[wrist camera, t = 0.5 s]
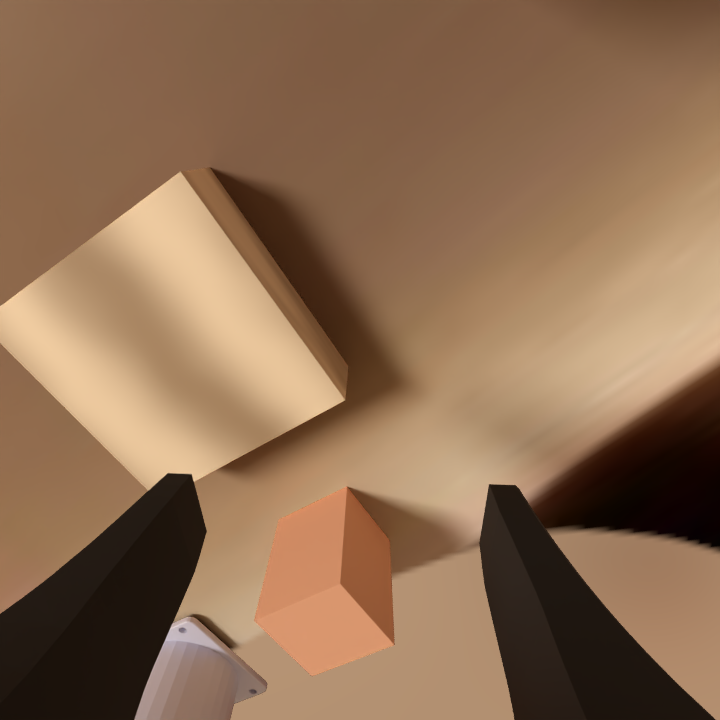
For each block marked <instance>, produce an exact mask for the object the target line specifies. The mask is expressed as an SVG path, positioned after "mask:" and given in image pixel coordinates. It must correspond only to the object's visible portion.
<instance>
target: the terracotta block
mask: <svg viewBox="0 0 720 720" xmlns="http://www.w3.org/2000/svg"><path fill="white" fill-rule="evenodd" d="M254 621H255V622H256V623H257V624H258V625H259V626H260V627H261V628H262V629H263V630H264V631H265V632H266V633H267V634H268V635H269V636H271V637H272V638H273V639H274V640H275V641H276V642H277V643H278V644H279V645H280V646H281V647H282V648H283V649H284V650H285V651H286V652H287V653H288V654H289V655H290V656H292V658H293V659H294V660H295V661H297V662H298V663H299V664H300V665H301V666H302V667H303V668H304V669H305V670H306V671H307V672H308V673H309V674H310V675H311V676H314V675H317V674H320V673H322V672H325V671H328V670H330V669H333V668H335V667H338V666H341V665H343V664H346V663H349V662H351V661H354V660H357V659H359V658H362V657H364V656H367V655H370V654H372V653H375V652H378V651H380V650H383V649H385V648H388V647H391V646H394V645H395V643H394V624H393V623H394V622H393V600H392V579H391V557H390V540H389V539H388V538H387V537H386V535H385V534H384V533H383V531H382V530H381V529H380V528H379V526H378V525H377V524H376V523H375V521H374V520H373V519H372V518H371V516H370V515H369V514H368V512H367V511H366V510H365V509H364V507H363V506H362V505H361V504H360V502H359V501H358V500H357V499H356V497H355V496H354V495H353V493H352V492H351V491H350V490H349V488H348V487H345V488H343V489H341V490H339V491H337V492H335V493H333V494H330V495H328V496H326V497H324V498H322V499H320V500H318V501H316V502H314V503H312V504H310V505H308V506H306V507H304V508H302V509H300V510H298V511H295V512H293V513H291V514H289V515H287V516H285V517H283V518H281V519H279V521H278V525H277V529H276V533H275V538H274V542H273V546H272V550H271V554H270V558H269V562H268V566H267V570H266V574H265V578H264V582H263V586H262V591H261V595H260V599H259V603H258V607H257V611H256V615H255V619H254Z"/></svg>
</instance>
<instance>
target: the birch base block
mask: <svg viewBox="0 0 720 720" xmlns="http://www.w3.org/2000/svg"><path fill="white" fill-rule="evenodd" d="M0 343H1V344H2V345H3V346H4V347H5V348H6V349H7V350H8V351H9V352H10V353H11V354H12V355H13V356H14V357H15V358H16V359H17V360H18V361H19V362H20V363H21V364H22V365H23V366H24V367H25V368H26V369H27V370H28V371H29V372H30V373H31V374H32V375H33V376H34V377H35V378H36V379H37V380H38V381H39V382H40V383H41V384H42V385H43V386H44V387H45V388H46V389H47V390H48V391H49V392H50V393H51V394H52V395H53V396H54V397H55V398H56V399H57V400H58V401H59V402H60V403H61V404H62V405H63V406H64V407H65V408H66V409H67V410H68V411H69V412H70V413H71V414H72V415H73V416H74V417H75V418H76V419H77V420H78V421H79V422H80V423H81V424H82V425H83V426H84V427H85V428H86V429H87V430H88V431H89V432H90V433H91V434H92V435H93V436H94V437H95V438H96V439H97V440H98V441H99V442H100V443H101V444H102V445H103V446H104V447H105V448H106V449H107V450H108V451H109V452H110V453H111V454H112V455H113V456H114V457H115V458H116V459H117V460H118V461H119V462H120V463H121V464H122V465H123V466H124V467H125V468H126V469H127V470H128V471H129V472H130V473H131V474H132V475H133V476H134V477H135V478H136V479H137V480H138V481H139V482H140V483H141V484H142V485H143V486H144V487H145V488H146V489H147V490H148V491H149V490H150V489H151V488H152V487H153V486H154V485H155V484H156V483H157V482H158V481H160V480H161V479H162V478H163V477H164V476H165V475H166V474H167V473H177V474H192V477H193V481H196V480H198V479H200V478H202V477H203V476H205V475H207V474H209V473H211V472H213V471H215V470H216V469H218V468H220V467H222V466H224V465H226V464H228V463H230V462H231V461H233V460H235V459H237V458H239V457H241V456H243V455H244V454H246V453H248V452H250V451H252V450H254V449H256V448H257V447H259V446H261V445H263V444H265V443H267V442H269V441H270V440H272V439H274V438H276V437H278V436H280V435H282V434H283V433H285V432H287V431H289V430H291V429H293V428H295V427H296V426H298V425H300V424H302V423H304V422H306V421H308V420H309V419H311V418H313V417H315V416H317V415H319V414H321V413H322V412H324V411H326V410H328V409H330V408H332V407H334V406H335V405H337V404H339V403H341V402H343V401H345V398H346V388H347V378H348V368H349V367H348V365H347V364H346V362H345V361H344V359H343V358H342V356H341V355H340V354H339V352H338V351H337V349H336V348H335V346H334V345H333V344H332V342H331V341H330V339H329V338H328V336H327V335H326V334H325V332H324V331H323V329H322V328H321V326H320V325H319V323H318V322H317V321H316V319H315V318H314V316H313V315H312V313H311V312H310V311H309V309H308V308H307V306H306V305H305V303H304V302H303V300H302V299H301V298H300V296H299V295H298V293H297V292H296V290H295V289H294V288H293V286H292V285H291V283H290V282H289V280H288V279H287V278H286V276H285V275H284V273H283V272H282V270H281V269H280V267H279V266H278V265H277V263H276V262H275V260H274V259H273V257H272V256H271V255H270V253H269V252H268V250H267V249H266V247H265V246H264V244H263V243H262V242H261V240H260V239H259V237H258V236H257V234H256V233H255V232H254V230H253V229H252V227H251V226H250V224H249V223H248V222H247V220H246V219H245V217H244V216H243V214H242V213H241V211H240V210H239V209H238V207H237V206H236V204H235V203H234V201H233V200H232V199H231V197H230V196H229V194H228V193H227V191H226V190H225V188H224V187H223V186H222V184H221V183H220V181H219V180H218V178H217V177H216V176H215V174H214V173H213V171H212V170H211V168H210V167H209V168H202V169H195V170H189V171H182V172H179V173H178V174H177V175H175V176H174V177H173V178H171V179H170V180H169V181H167V182H166V183H165V184H163V185H162V186H161V187H159V188H158V189H157V190H155V191H154V192H153V193H151V194H150V195H149V196H147V197H146V198H145V199H143V200H142V201H141V202H139V203H138V204H137V205H135V206H134V207H133V208H131V209H130V210H129V211H127V212H126V213H124V214H123V215H122V216H120V217H119V218H118V219H116V220H115V221H114V222H112V223H111V224H110V225H108V226H107V227H106V228H104V229H103V230H102V231H100V232H99V233H98V234H96V235H95V236H94V237H92V238H91V239H90V240H88V241H87V242H86V243H84V244H83V245H82V246H80V247H79V248H78V249H76V250H75V251H74V252H72V253H71V254H70V255H68V256H67V257H66V258H64V259H63V260H62V261H60V262H59V263H58V264H56V265H55V266H54V267H52V268H51V269H50V270H48V271H47V272H46V273H44V274H43V275H42V276H40V277H39V278H38V279H36V280H35V281H34V282H32V283H31V284H30V285H28V286H27V287H26V288H24V289H23V290H22V291H20V292H19V293H18V294H16V295H15V296H14V297H12V298H11V299H10V300H8V301H7V302H6V303H4V304H3V305H2V306H0Z"/></svg>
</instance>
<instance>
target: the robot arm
mask: <svg viewBox="0 0 720 720" xmlns="http://www.w3.org/2000/svg"><path fill="white" fill-rule="evenodd" d="M206 532H207V531H206V527H205V523H204V519H203V515H202V512H201V508H200V504H199V500H198V496H197V492H196V489H195V485H194V481H193V477H192V474H177V473H167V474H166V475H165V476H164V477H163V478H162V479H161V480H160V481H158V482H157V483H156V484H155V485H154V486H153V487H152V488H151V489H150V490H149V491H148V492H146V493H145V494H144V495H143V496H142V497H141V498H140V499H139V500H138V501H137V502H136V503H135V504H133V505H132V506H131V507H130V508H129V509H128V510H127V511H126V512H125V513H124V514H123V515H121V516H120V517H119V518H118V519H117V520H116V521H115V522H114V523H113V524H111V525H110V526H109V527H108V528H107V529H106V530H105V531H104V532H103V533H101V534H100V535H99V536H98V537H97V538H96V539H95V540H94V541H92V542H91V543H90V544H89V545H88V546H87V547H85V548H84V549H83V550H82V551H81V552H79V553H78V554H77V555H76V556H75V557H73V558H72V559H71V560H70V561H69V562H67V563H66V564H65V565H64V566H62V567H61V568H60V569H59V570H58V571H56V572H55V573H54V574H53V575H52V576H50V577H49V578H48V579H47V580H45V581H44V582H43V583H41V584H40V585H39V586H38V587H36V588H35V589H34V590H32V591H31V592H30V593H28V594H27V595H26V596H24V597H23V598H22V599H20V600H19V601H17V602H16V603H15V604H13V605H12V606H11V607H9V608H8V609H6V610H5V611H4V612H2V613H1V614H0V720H230V718H231V714H232V709H233V705H234V704H235V703H238V702H240V701H243V700H245V699H248V698H251V697H253V696H256V695H259V694H261V693H263V692H265V691H266V689H267V682H266V681H265V680H264V679H263V678H262V677H260V676H259V675H258V674H257V673H256V672H255V671H254V670H253V669H252V668H250V667H249V666H248V665H247V664H246V663H245V662H244V661H243V660H241V658H239V657H238V656H237V655H236V654H235V653H234V652H233V651H232V650H231V649H229V648H228V647H227V646H226V645H225V644H224V643H223V642H222V641H221V640H220V639H218V638H217V637H216V636H215V635H214V634H213V633H212V632H211V631H210V630H208V629H207V628H206V627H205V626H204V625H203V624H202V623H201V622H200V621H198V620H197V619H196V618H194V617H186V618H184V619H181V620H179V621H177V622H175V623H173V621H174V619H175V616H176V614H177V612H178V610H179V607H180V605H181V603H182V600H183V598H184V596H185V593H186V591H187V589H188V586H189V584H190V582H191V579H192V577H193V575H194V572H195V569H196V566H197V563H198V559H199V556H200V553H201V549H202V546H203V542H204V539H205V535H206ZM480 552H481V560H482V569H483V576H484V584H485V589H486V593H487V598H488V602H489V607H490V611H491V616H492V620H493V624H494V628H495V633H496V637H497V641H498V645H499V650H500V654H501V658H502V662H503V667H504V671H505V675H506V679H507V684H508V688H509V692H510V698H511V703H512V708H513V713H514V719H515V720H715V719H714V718H713V717H712V716H711V715H710V714H709V713H708V712H707V711H706V710H705V709H703V707H702V706H701V705H699V704H698V703H697V702H696V701H695V700H694V699H693V698H692V697H691V696H690V695H689V694H688V693H687V692H686V691H684V689H682V688H681V687H680V686H679V685H678V684H677V683H676V682H675V681H674V680H673V679H672V678H671V677H670V676H669V675H668V674H667V673H666V672H665V671H664V670H663V669H662V668H661V667H660V666H659V665H658V664H657V663H656V662H655V661H654V660H653V658H651V656H650V655H649V654H648V653H646V651H645V650H644V649H643V648H642V647H641V646H640V645H639V644H638V643H637V642H636V640H635V639H634V638H633V637H632V636H631V635H630V634H629V633H628V632H627V631H626V630H625V629H624V627H623V626H622V625H621V624H620V623H619V622H618V621H617V619H616V618H615V617H614V616H613V615H612V614H611V613H610V611H609V610H608V609H607V608H606V607H605V606H604V604H603V603H602V602H601V601H600V600H599V598H598V597H597V596H596V595H595V593H594V592H593V591H592V590H591V589H590V587H589V586H588V585H587V584H586V582H585V581H584V580H583V579H582V577H581V576H580V575H579V574H578V572H577V571H576V570H575V568H574V567H573V566H572V564H571V563H570V562H569V560H568V559H567V558H566V557H565V555H564V554H563V552H562V551H561V550H560V548H559V547H558V546H557V544H556V543H555V542H554V540H553V539H552V537H551V536H550V535H549V533H548V532H547V530H546V529H545V527H544V526H543V524H542V523H541V522H540V520H539V519H538V517H537V516H536V514H535V513H534V511H533V510H532V508H531V507H530V505H529V503H528V502H527V500H526V499H525V497H524V496H523V494H522V493H521V491H520V489H519V488H518V487H517V486H516V485H492V484H489V489H488V495H487V501H486V507H485V513H484V519H483V525H482V531H481V537H480Z"/></svg>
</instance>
